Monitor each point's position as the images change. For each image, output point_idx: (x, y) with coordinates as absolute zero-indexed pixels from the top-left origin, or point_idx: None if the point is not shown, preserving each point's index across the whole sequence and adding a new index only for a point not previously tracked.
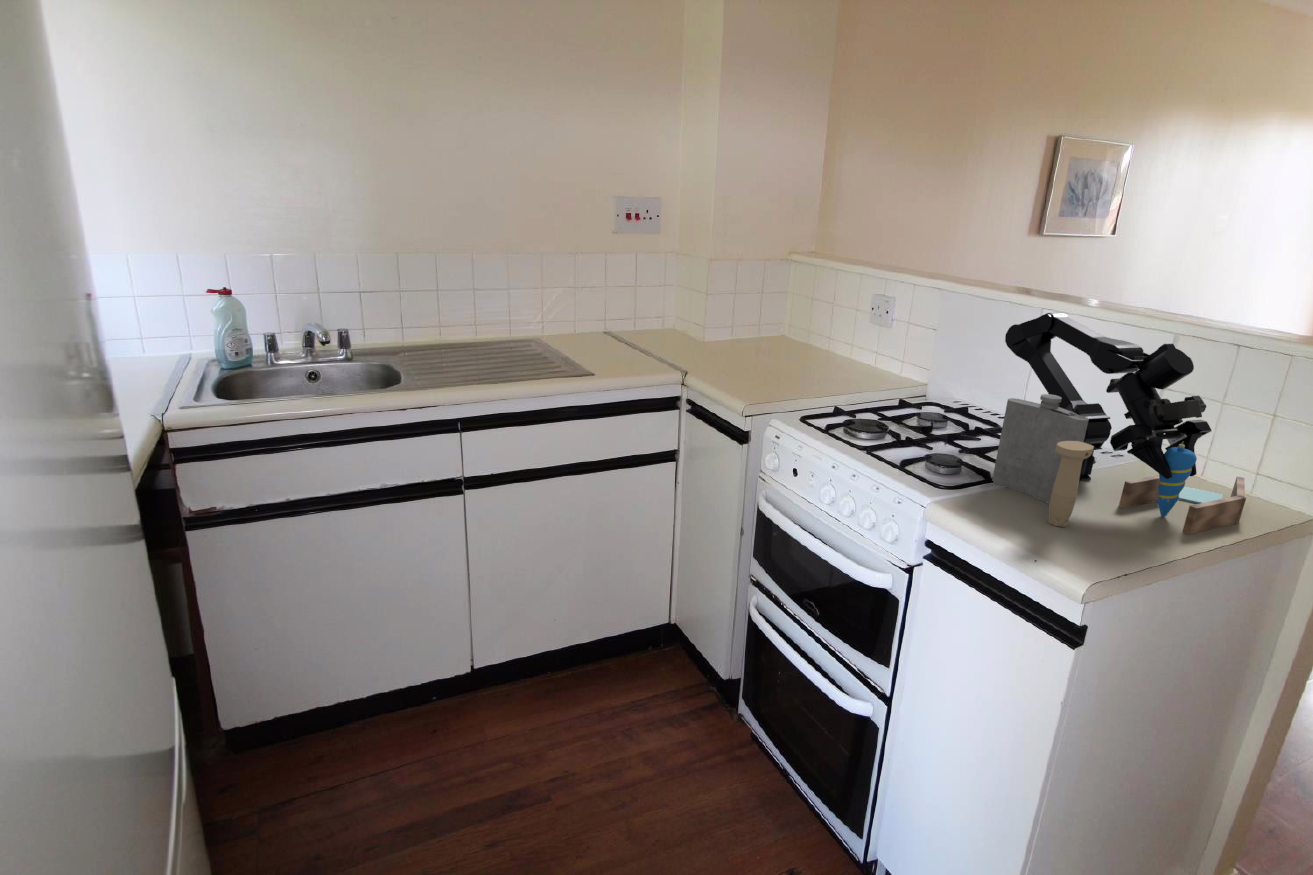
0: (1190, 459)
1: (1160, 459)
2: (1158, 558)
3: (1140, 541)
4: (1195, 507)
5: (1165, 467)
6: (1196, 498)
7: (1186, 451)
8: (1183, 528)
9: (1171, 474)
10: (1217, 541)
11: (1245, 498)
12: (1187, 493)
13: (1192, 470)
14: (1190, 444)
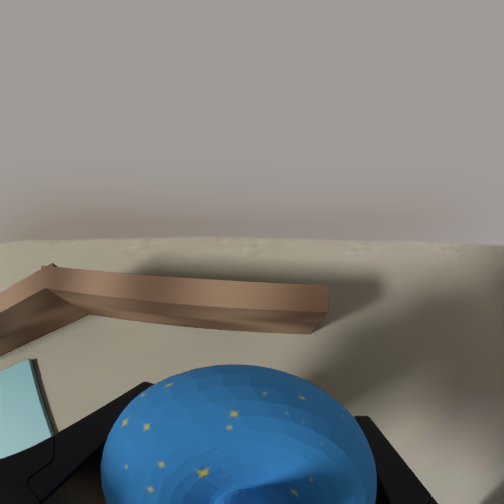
0: (289, 378)
1: (431, 501)
2: (489, 257)
3: (470, 327)
4: (324, 291)
5: (399, 458)
6: (26, 422)
7: (198, 480)
8: (311, 331)
9: (363, 422)
10: (279, 254)
11: (47, 266)
12: (17, 448)
13: None
14: (4, 497)
